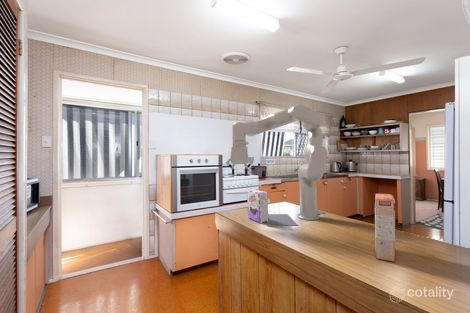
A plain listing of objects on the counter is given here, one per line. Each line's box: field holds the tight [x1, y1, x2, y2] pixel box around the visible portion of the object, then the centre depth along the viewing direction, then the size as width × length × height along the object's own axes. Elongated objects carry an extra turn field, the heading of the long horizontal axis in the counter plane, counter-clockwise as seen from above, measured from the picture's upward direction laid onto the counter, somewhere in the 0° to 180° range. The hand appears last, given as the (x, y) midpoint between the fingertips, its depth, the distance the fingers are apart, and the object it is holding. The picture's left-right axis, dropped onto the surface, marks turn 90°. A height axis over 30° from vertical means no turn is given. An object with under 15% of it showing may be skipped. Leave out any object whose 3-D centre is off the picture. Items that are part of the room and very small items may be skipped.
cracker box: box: [374, 193, 396, 263], centre depth 84 cm, size 14×6×21 cm, turn 148°
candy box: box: [246, 189, 269, 224], centre depth 131 cm, size 14×6×16 cm, turn 25°
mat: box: [264, 213, 299, 227], centre depth 131 cm, size 16×24×1 cm, turn 0°
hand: (239, 175), depth 132 cm, fingers open, 6 cm apart
